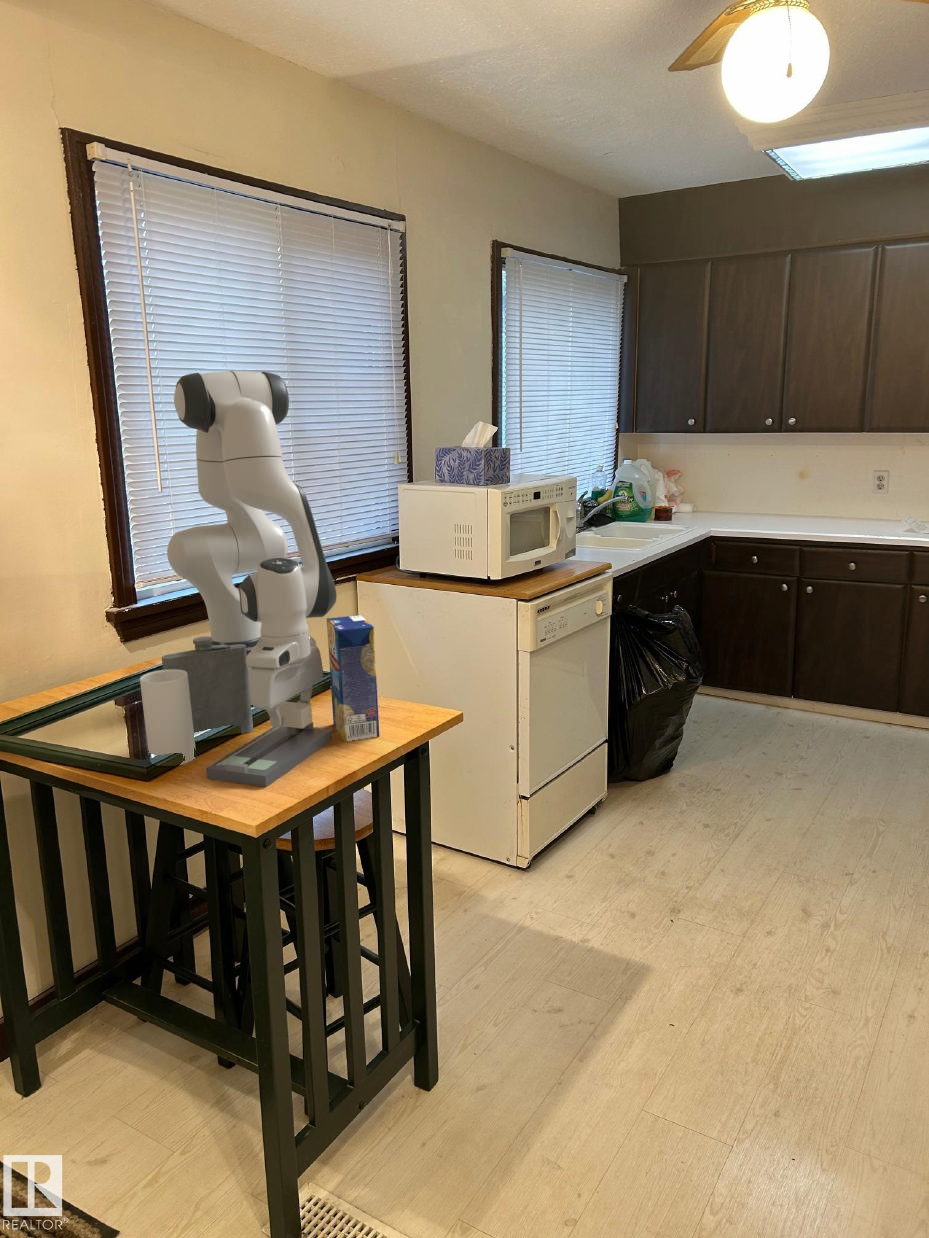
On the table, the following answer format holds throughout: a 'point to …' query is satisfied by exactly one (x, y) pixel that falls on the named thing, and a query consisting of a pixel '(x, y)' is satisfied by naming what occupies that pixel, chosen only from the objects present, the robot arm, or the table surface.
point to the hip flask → (215, 684)
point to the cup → (168, 713)
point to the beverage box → (353, 677)
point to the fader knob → (295, 715)
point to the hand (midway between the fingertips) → (291, 717)
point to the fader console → (269, 755)
